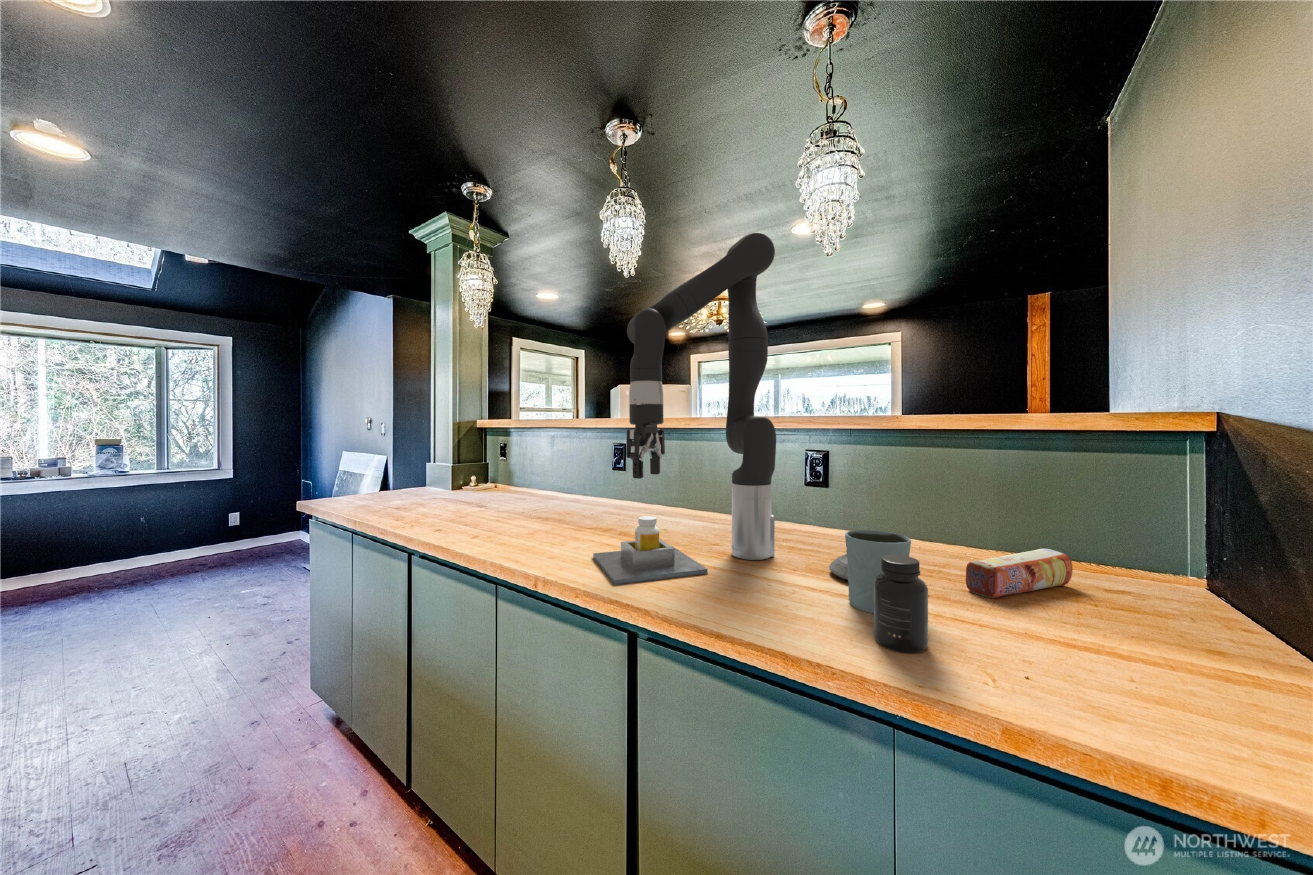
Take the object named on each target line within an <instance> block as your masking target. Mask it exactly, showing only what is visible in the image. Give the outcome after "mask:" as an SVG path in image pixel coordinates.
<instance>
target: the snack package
mask: <svg viewBox="0 0 1313 875" xmlns="http://www.w3.org/2000/svg"><path fill="white" fill-rule="evenodd" d="M1072 576H1073V562H1072V560H1071V559H1070V557H1069V556H1068V555H1066V554H1065V553H1063V552H1060V551H1058V550H1054V549H1050V548H1039V549H1035V550H1028V551H1023V552H1018V553H1012V554H1007V555H1006V554H1005V555H1002V556H996V557H989V558H985V559H980V560H971V561H970V562H968V563H967V564H966V567H965V585H966V588H967V589H968V590H969V592H971V593H973V594H974V595H975V594H976V595H979V596H982V597H985V598H988V599H996V598H1000V597H1003V596H1009V595H1017V594H1021V593H1027V592H1033V591H1037V590H1043V589H1048V588H1054V587H1059V586H1061V587H1062V586H1066V585H1068V584H1069V583H1070V581H1071V580H1072Z"/></svg>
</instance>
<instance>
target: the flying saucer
mask: <svg viewBox="0 0 1313 875" xmlns="http://www.w3.org/2000/svg"><path fill="white" fill-rule="evenodd" d="M828 567H829V568H828V569H829V570H830V571H831V573H832V574H834V575H836V576H837V577H839V578H841V579H843V580H847V581H848V580H849V579H848V571H847V568H848V560H847V553H845V554H843V555H840V556H838V557H836V558H835V559H834V560H833V561H831V563H830V564H829V566H828Z"/></svg>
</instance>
